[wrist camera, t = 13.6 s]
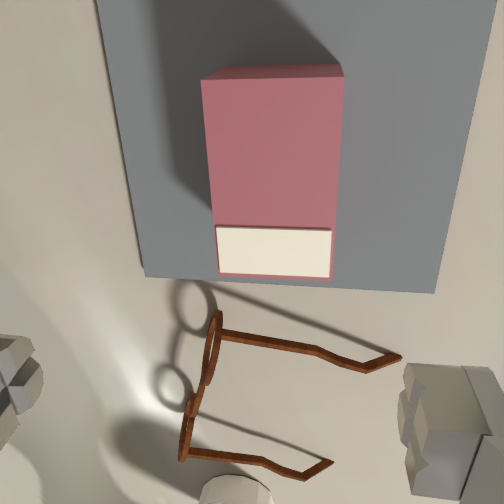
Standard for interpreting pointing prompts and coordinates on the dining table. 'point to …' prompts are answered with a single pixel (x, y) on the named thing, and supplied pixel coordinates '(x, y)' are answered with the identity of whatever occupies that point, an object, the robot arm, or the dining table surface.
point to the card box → (274, 168)
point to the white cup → (234, 491)
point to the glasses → (268, 342)
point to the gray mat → (352, 131)
